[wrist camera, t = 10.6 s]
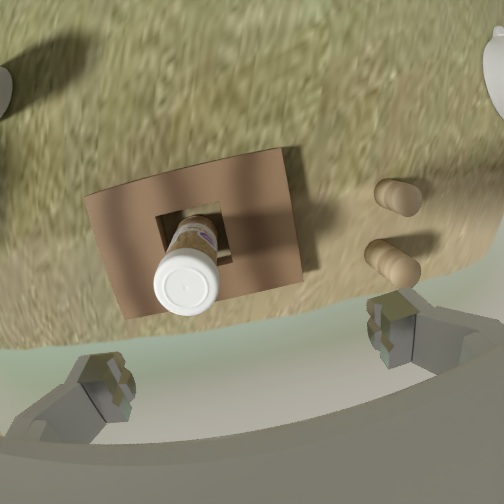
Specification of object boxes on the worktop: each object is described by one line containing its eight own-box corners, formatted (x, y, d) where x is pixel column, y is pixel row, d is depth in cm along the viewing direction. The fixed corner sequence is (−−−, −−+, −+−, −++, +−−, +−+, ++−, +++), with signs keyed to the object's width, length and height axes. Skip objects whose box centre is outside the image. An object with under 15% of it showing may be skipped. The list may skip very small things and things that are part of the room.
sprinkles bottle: (225, 226, 34) (231, 275, 22) (205, 262, 35) (201, 328, 23) (186, 206, 33) (169, 244, 20) (167, 244, 34) (142, 300, 21)
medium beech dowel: (389, 238, 37) (422, 257, 30) (387, 265, 38) (418, 288, 31) (365, 240, 37) (395, 260, 29) (363, 267, 38) (391, 292, 30)
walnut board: (276, 147, 32) (281, 148, 30) (298, 272, 37) (303, 281, 34) (92, 193, 31) (83, 197, 29) (129, 309, 36) (124, 319, 34)
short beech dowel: (397, 176, 35) (420, 182, 30) (399, 204, 36) (422, 213, 31) (372, 180, 34) (394, 186, 30) (375, 209, 36) (397, 219, 31)
